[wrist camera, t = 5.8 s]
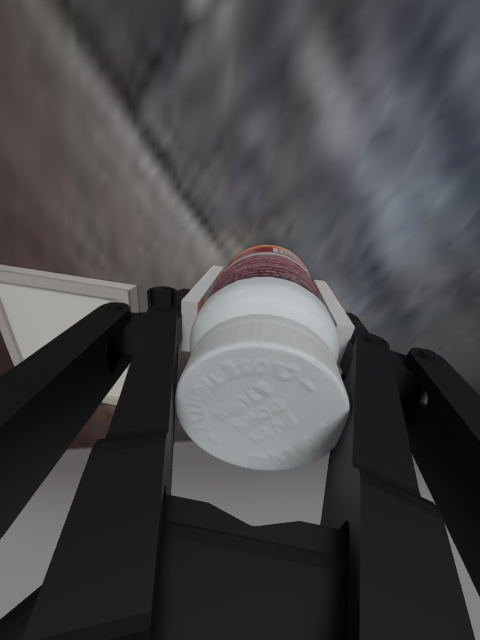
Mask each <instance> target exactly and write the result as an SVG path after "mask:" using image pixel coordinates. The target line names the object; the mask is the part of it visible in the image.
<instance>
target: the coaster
mask: <svg viewBox="0 0 480 640" xmlns="http://www.w3.org/2000/svg"><path fill="white" fill-rule="evenodd" d="M109 302H122V303H126V304H128V305H129V306H130V311H131V313H139V306H138V294H137V285H130V284H124V283H117V282H111V281H104V280H98V279H91V278H85V277H78V276H72V275H65V274H58V273H52V272H45V271H39V270H32V269H26V268H19V267H13V266H6V265H0V331H1V333H2V336H3V338H4V341H5V343H6V346H7V349H8V351H9V354H10V356H11V359H12V361H13V364H14V366H16V365H18V364H19V363H20V362H22V361H23V360H25V359H26V358H27V357H29V356H30V355H32V354H33V353H34V352H36V351H37V350H39V349H40V348H41V347H43V346H44V345H46V344H47V343H48V342H50V341H51V340H53V339H54V338H55V337H57V336H58V335H60V334H61V333H62V332H64V331H65V330H67V329H68V328H70V327H71V326H72V325H74V324H75V323H77V322H78V321H79V320H81V319H82V318H84V317H85V316H86V315H88V314H89V313H91V312H92V311H93V310H95V309H96V308H98V307H99V306H101V305H103V304H106V303H109ZM129 365H130V364H129ZM129 365H128V367H127V368H126V370H125V371H124V372H123V374H122V375H121V376H120V378H119V379H118V380H117V382H116V383H115V385H114V386H113V387H112V389H111V390H110V391H109V393H108V394H107V395H106V397H105V398H104V399H103V401H102V403H107V404H113V405H117V402H118V399H119V396H120V393H121V390H122V387H123V384H124V381H125V378H126V375H127V372H128V369H129Z"/></svg>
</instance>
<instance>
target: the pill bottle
mask: <svg viewBox="0 0 480 640" xmlns="http://www.w3.org/2000/svg"><path fill="white" fill-rule="evenodd" d="M189 347H190V357H189V359H188V363H187V365H186V367H185V369H184V371H183V373H182V375H181V377H180V379H179V382H178V385H177V388H176V393H175V408H176V413H177V416H178V419H179V422H180V424H181V426H182V427H183V429H184V430H185V432H186V433H187V435H188V436H189V437H190V438H191V439H192V440H193V441H194V443H196V444H197V445H198V446H199V447H200V448H202V449H203V450H205V451H206V452H207V453H209V454H211V455H212V456H214V457H216V458H218V459H220V460H222V461H225V462H227V463H230V464H233V465H236V466H240V467H244V468H249V469H255V470H263V471H266V470H269V471H272V470H285V469H292V468H297V467H301V466H304V465H307V464H309V463H312V462H314V461H316V460H318V459H320V458H322V457H323V456H325V455H326V454H328V453H329V452H330V451H331V450H333V449H334V448H335V446H336V444H337V442H338V440H339V438H340V436H341V433H342V431H343V429H344V427H345V425H346V422H347V420H348V418H349V415H350V405H349V400H348V395H347V392H346V389H345V386H344V384H343V381H342V379H341V376H340V373H339V369H338V366H337V360H338V355H339V340H338V334H337V330H336V327H335V325H334V322H333V320H332V318H331V316H330V313H329V311H328V309H327V308H326V306H325V305H324V303H323V301H322V299H321V297H320V294H319V293H318V291H317V289H316V287H315V284H314V283H313V280H312V278H311V276H310V274H309V272H308V270H307V268H306V266H305V265H304V263H303V262H302V261H301V260H300V259H299V258H298V257H297V256H296V255H295V254H293V253H292V252H290V251H289V250H287V249H284V248H282V247H278V246H273V245H261V246H255V247H252V248H249V249H247V250H245V251H243V252H241V253H240V254H238V255H237V256H236V257H235V258H234V259H233V260H232V261H231V262H230V264H229V265H228V266H227V268H226V269H225V271H224V273H223V274H222V276H221V277H220V279H219V280H218V282H217V283H216V285H215V286H214V288H213V289H212V291H211V293H210V295H209V296H208V298H207V300H206V301H205V302H204V304H203V306H202V308H201V309H200V311H199V313H198V314H197V316H196V318H195V320H194V323H193V325H192V329H191V333H190V341H189Z"/></svg>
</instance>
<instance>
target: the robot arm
mask: <svg viewBox="0 0 480 640" xmlns="http://www.w3.org/2000/svg"><path fill="white" fill-rule="evenodd" d="M223 272H224V267H221V266H214V265H213V266H212V267H211V268H210V269H209V271H208V272H207V273H206V274H205V275H204V276H203V277H202V278H201V279H200V280H199V282H198V283H197V284H196V285H195V286H194V287H193V288H192V289H191V290H189V289H181V290H179V291H177V290H176V289H174V288H171V287H165V286H160V287H153V288H150V289H148V291H147V298H148V310H147V312H144V313H131V311H130V306H129V305H128V304H126V303H122V302H109V303H106V304H103V305H101V306H99V307H98V308H96V309H95V310H93V311H92V312H91V313H89V314H88V315H86V316H85V317H84V318H82V319H81V320H79V321H78V322H77V323H75V324H74V325H72V326H71V327H70V328H68V329H67V330H65V331H64V332H62V333H61V334H60V335H58V336H57V337H55V338H54V339H53V340H51V341H50V342H48V343H47V344H46V345H44V346H43V347H41V348H40V349H39V350H37V351H36V352H34V353H33V354H32V355H30V356H29V357H27V358H26V359H25V360H23V361H22V362H20V363H19V364H18V365H16V366H15V367H13V368H12V369H11V370H9V371H8V372H6V373H5V374H4V375H2V376H1V377H0V539H1V537H3V535H4V534H5V533H6V531H7V530H8V529H9V527H10V526H11V524H12V523H13V522H14V520H15V519H16V518H17V516H18V515H19V514H20V512H21V511H22V510H23V508H24V507H25V505H26V504H27V503H28V501H29V500H30V499H31V497H32V496H33V495H34V493H35V492H36V490H37V489H38V488H39V486H40V485H41V484H42V482H43V481H44V479H45V478H46V477H47V476H48V474H49V473H50V471H51V470H52V469H53V467H54V466H55V465H56V463H57V462H58V461H59V459H60V458H61V457H62V455H63V454H64V452H65V451H66V450H67V448H68V447H69V446H70V444H71V443H72V442H73V440H74V439H75V438H76V436H77V435H78V433H79V432H80V431H81V429H82V428H83V427H84V425H85V424H86V423H87V421H88V420H89V418H90V417H91V416H92V414H93V413H94V412H95V410H96V409H97V408H98V406H99V405H100V404H101V402H102V401H103V399H104V398H105V397H106V395H107V394H108V393H109V391H110V390H111V389H112V387H113V386H114V385H115V383H116V382H117V380H118V379H119V378H120V376H121V375H122V374H123V372H124V371H125V370H126V368H127V367H128V365H129V364H130V365H129V369H128V372H127V375H126V378H125V381H124V384H123V387H122V390H121V393H120V396H119V399H118V402H117V406H116V409H115V412H114V415H113V418H112V421H111V424H110V427H109V430H108V433H107V436H106V438H105V439H98V440H97V442H96V443H95V444H94V446H93V448H92V450H91V453H90V455H89V458H88V461H87V464H86V467H85V469H84V472H83V475H82V477H81V480H80V483H79V485H78V488H77V491H76V494H75V497H74V499H73V502H72V505H71V507H70V510H69V513H68V516H67V519H66V521H65V524H64V527H63V529H62V532H61V535H60V538H59V540H58V543H57V546H56V549H55V551H54V554H53V557H52V560H51V562H50V565H49V568H48V570H47V573H46V576H45V579H44V582H43V584H42V585H41V586H40V587H39V588H37V589H36V590H35V591H34V592H33V593H32V594H30V595H29V596H28V597H27V598H25V599H24V600H23V601H22V602H21V603H19V604H18V605H17V606H16V607H15V608H13V609H12V610H11V611H10V612H9V613H7V614H6V615H5V616H4V617H3V618H1V619H0V640H475V637H474V633H473V629H472V626H471V622H470V618H469V614H468V610H467V607H466V603H465V599H464V595H463V592H462V588H461V584H460V580H459V577H458V573H457V569H456V565H455V562H454V558H453V554H452V550H451V546H450V543H449V539H448V535H447V531H446V528H445V525H446V527H447V529H448V531H449V533H450V535H451V537H452V540H453V542H454V544H455V545H456V548H457V550H458V552H459V554H460V556H461V558H462V561H463V562H464V565H465V567H466V569H467V571H468V573H469V575H470V577H471V580H472V582H473V584H474V586H475V588H476V590H477V592H478V594H479V596H480V395H479V394H478V393H477V392H476V391H475V390H474V389H473V388H472V387H471V386H470V385H469V384H468V383H467V382H466V381H465V380H464V379H463V378H462V377H461V376H460V375H459V374H458V373H457V372H456V371H455V370H454V368H453V367H452V366H451V365H450V364H449V363H448V362H447V361H446V360H445V359H443V358H442V357H441V356H439V355H437V354H436V353H435V352H433V351H430V350H428V349H422V348H411V349H410V351H409V352H408V354H407V355H404V354H400V353H397V352H394V351H391V350H390V347H389V344H388V342H387V341H385V340H384V339H383V338H381V337H379V336H376V335H373V334H369V332H368V331H367V329H366V328H365V327H364V325H363V324H362V323H361V321H360V320H359V318H358V317H356V316H355V315H353V314H352V313H347V312H345V311H344V310H343V308H342V307H341V305H340V303H339V302H338V300H337V299H336V297H335V296H334V294H333V293H332V291H331V290H330V288H329V287H328V285H327V283H326V282H325V281H319V280H314V281H313V283H314V284H315V287H316V289H317V291H318V293H319V294H320V297H321V299H322V301H323V303H324V305H325V306H326V308H327V309H328V311H329V313H330V316H331V318H332V320H333V322H334V325H335V327H336V330H337V334H338V340H339V355H338V360H337V366H338V369H339V368H340V367H341V369H342V372H343V373H342V375H341V379H342V381H343V384H344V386H345V389H346V392H347V395H348V400H349V405H350V415H349V418H348V420H347V422H346V425H345V427H344V429H343V431H342V433H341V436H340V438H339V440H338V442H337V444H336V446H335V448H334V449H333V450H331V451H330V457H329V464H328V471H327V479H326V487H325V495H324V502H323V509H322V517H321V523H320V525H317V524H311V523H307V522H302V521H296V522H287V523H279V524H272V525H263V526H251V525H248V524H246V523H245V522H243V521H241V520H239V519H237V518H235V517H234V516H232V515H230V514H228V513H226V512H224V511H223V510H221V509H219V508H217V507H215V506H213V505H212V504H210V503H207V502H202V501H196V500H192V499H186V498H182V497H177V496H172V495H171V482H172V464H173V445H174V425H175V393H176V386H177V367H178V346H179V344H180V343H181V351H187V352H190V347H189V341H190V333H191V329H192V325H193V323H194V320H195V318H196V316H197V314H198V313H199V311H200V309H201V308H202V306H203V304H204V302H205V301H206V300H207V298H208V296H209V295H210V293H211V291H212V289H213V288H214V286H215V285H216V283H217V282H218V280H219V279H220V277H221V276H222V274H223ZM427 396H428V402H427V405H425V403H424V401H425V399H426V398H427ZM411 453H412V454H411ZM412 455H413V457H414V459H415V461H416V463H417V466H418V468H419V470H420V472H421V474H422V476H423V478H424V480H425V483H426V484H427V486H428V489H429V491H430V493H431V495H432V497H433V499H434V502H435V504H436V505H435V504H434V503H433V502H431V501H429V500H427V499H424V498H422V497H421V495H420V492H419V488H418V483H417V478H416V473H415V469H414V464H413V459H412ZM444 523H445V524H444Z"/></svg>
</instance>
